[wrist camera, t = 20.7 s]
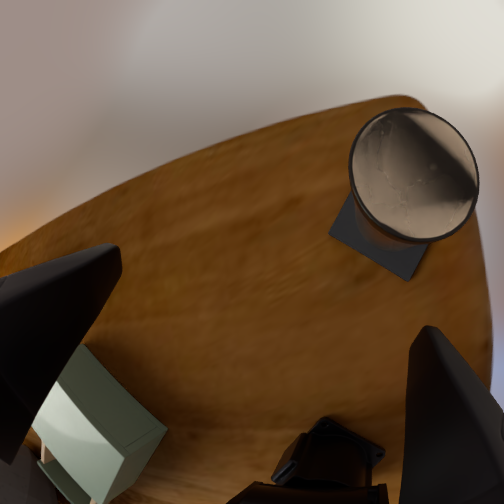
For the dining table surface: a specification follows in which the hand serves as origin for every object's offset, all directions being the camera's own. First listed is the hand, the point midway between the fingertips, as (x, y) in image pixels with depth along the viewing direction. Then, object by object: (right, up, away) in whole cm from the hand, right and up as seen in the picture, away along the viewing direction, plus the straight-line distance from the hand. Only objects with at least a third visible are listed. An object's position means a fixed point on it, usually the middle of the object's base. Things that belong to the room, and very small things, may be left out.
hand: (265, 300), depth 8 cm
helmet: (-62, -53, +24) cm, 85 cm away
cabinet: (-17, -18, +20) cm, 32 cm away
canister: (+9, +4, +11) cm, 14 cm away
